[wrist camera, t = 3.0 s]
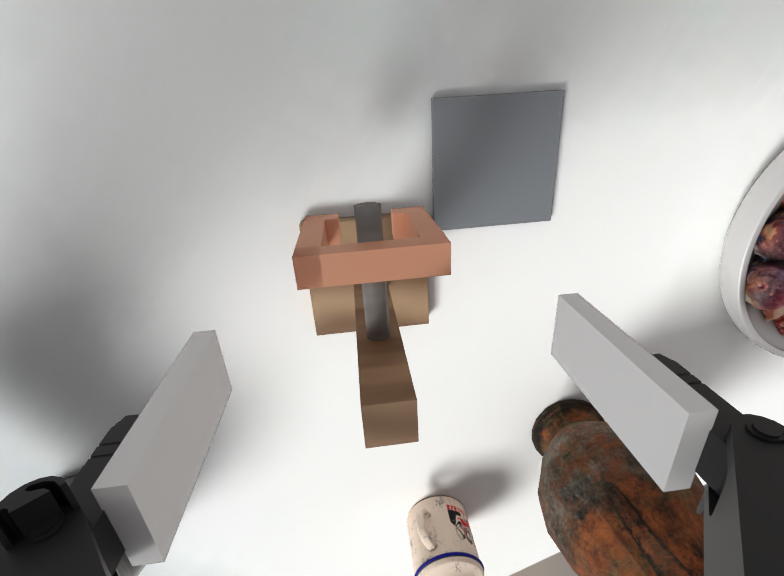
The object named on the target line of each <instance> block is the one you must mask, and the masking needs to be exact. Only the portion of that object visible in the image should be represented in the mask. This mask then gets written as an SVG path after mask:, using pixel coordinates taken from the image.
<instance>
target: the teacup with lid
mask: <svg viewBox="0 0 784 576" xmlns="http://www.w3.org/2000/svg"><path fill="white" fill-rule="evenodd" d="M407 527H408V534H409V540H410V547H411V553H412V560H413V566H414V573H415V576H484V567H483V564H482V562H481V561H480V560H479V556H478V553H477V550H476V546H475V543H474V540H473V536H472V533H471V530H470V526H469V523H468V520H467V516H466V513H465V510H464V507H463V506H462V504H461V503H460V502H459V501H457V500H456V499H454V498H451V497H446V496H435V497H430V498H427V499H424V500H422V501H420V502H419V503H417V504H416V505H415V506H414V507H413V508H412V509H411V510H410V512H409V514H408V516H407Z"/></svg>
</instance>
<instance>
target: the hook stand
mask: <svg viewBox="0 0 784 576" xmlns="http://www.w3.org/2000/svg"><path fill="white" fill-rule="evenodd" d="M354 212H355V217H344V218H339V221H340V230H341V244H351V243H362V242H373V241H384V240H394V237H393V235H392V223H391V213H390V214H381V204H380V203H376V202H366V203H360V204H356V205H355V206H354ZM303 222H304V221H301V222H300V225H299V226H300V232H301V229H302V225H303ZM310 295H311V301H312V307H313V314H314V320H315V326H316V332H317V335H326V334H335V333H344V332H353V331H356V334H357V350H358V367H359V384H360V400H361V412H362V420H363V429H364V438H365V446H366V448H372V447H380V446H388V445H395V444H403V443H411V442H418V441H419V440H418V416H417V398H416V394H415V390H414V386H413V382H412V378H411V374H410V370H409V366H408V362H407V358H406V354H405V350H404V346H403V342H402V338H401V334H400V330H399V327H400V326H409V325H418V324H427V323H429V315H428V277H423V278H413V279H403V280H392V281H382V282H372V283H362V284H352V285H342V286H332V287H322V288H312V289H310Z"/></svg>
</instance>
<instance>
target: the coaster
mask: <svg viewBox="0 0 784 576" xmlns="http://www.w3.org/2000/svg"><path fill="white" fill-rule="evenodd" d="M564 92H565V90H553V91H538V92H523V93H507V94H492V95H477V96H462V97H446V98H431V100H432V162H433V220H434V221H435V223H436V224H437V225H438V227H439V228H440V229H441V230H451V229H462V228H473V227H484V226H495V225H506V224H517V223H528V222H539V221H550V220H551V211H552V202H553V193H554V184H555V174H556V165H557V156H558V147H559V138H560V129H561V120H562V111H563V101H564Z"/></svg>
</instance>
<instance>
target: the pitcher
mask: <svg viewBox="0 0 784 576" xmlns="http://www.w3.org/2000/svg"><path fill="white" fill-rule="evenodd" d="M532 441H533V443H534V446H535V448H536V450H537V451H538V452H539V453H540V454H541V455H542V456H543V458H542V467H541V475H540V481H539V488H538V496H539V501H540V505H541V509H542V513H543V516H544V520H545V524H546V527H547V531H548V533H549V535H550V536H551V538H552V539H553V541H554V542H555V544H556V545H557V547H558V548H559V550H560V551H561V552H562V554H563V556H564V557H565V559H566V560H567V562H568V563H569V565H570V566H571V568H572V569H573V570H574V571H575V572H576V574H577V575H579V576H704V509H703V511H702V513H701V514H698V513H696V511H697V508H698V506H699V503H700V500H701V498H702V495H703V493H704V490H705V488H704V486H703V485H702V483H701V482H700V480H699V479H698V477H697V475H696V474H695V476H694V479H693V481H692V484H691V487H690V488H689V489H682V490H675V491H667V492H663V491H662V490H661V489H660V487H659V486H658V485H657V484H656V482H655V481H654V480H653V479H652V477H651V476H650V475H649V474H648V473H647V471H646V470H645V469H644V468H643V466H642V465H641V464H640V463H639V462H638V460H637V459H636V458H635V457H634V455H633V454H632V453H631V452H630V450H629V449H628V448H627V447H626V446H625V444H624V443H623V442H622V441H621V439H620V438H619V437H618V436H617V434H616V433H615V432H614V431H613V430H612V428H611V427H610V426H609V425H608V423H607V422H605V421H604V418H603V417H602V416H601V415H600V414H599V412H598V411H597V410H596V409H595V407H594V406H593V405H592V404H591V403H588V402H585V401H582V400H567V401H562V402H558V403H556V404H554V405H553V406H551V407H549V408H547V409H546V410H545V411H544V412H543V413H542V414H541V415H540V416H539V417H538V418H537V419H536V421H535V424H534V426H533V429H532Z"/></svg>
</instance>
